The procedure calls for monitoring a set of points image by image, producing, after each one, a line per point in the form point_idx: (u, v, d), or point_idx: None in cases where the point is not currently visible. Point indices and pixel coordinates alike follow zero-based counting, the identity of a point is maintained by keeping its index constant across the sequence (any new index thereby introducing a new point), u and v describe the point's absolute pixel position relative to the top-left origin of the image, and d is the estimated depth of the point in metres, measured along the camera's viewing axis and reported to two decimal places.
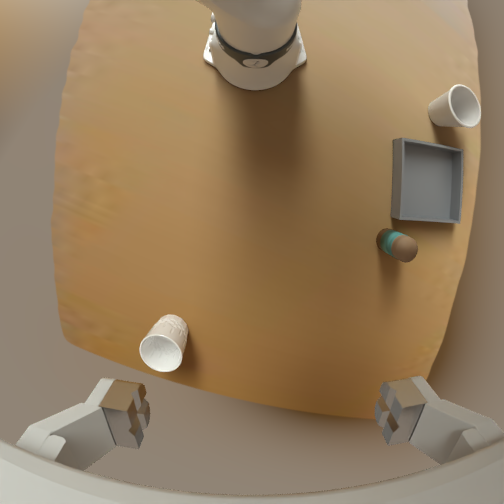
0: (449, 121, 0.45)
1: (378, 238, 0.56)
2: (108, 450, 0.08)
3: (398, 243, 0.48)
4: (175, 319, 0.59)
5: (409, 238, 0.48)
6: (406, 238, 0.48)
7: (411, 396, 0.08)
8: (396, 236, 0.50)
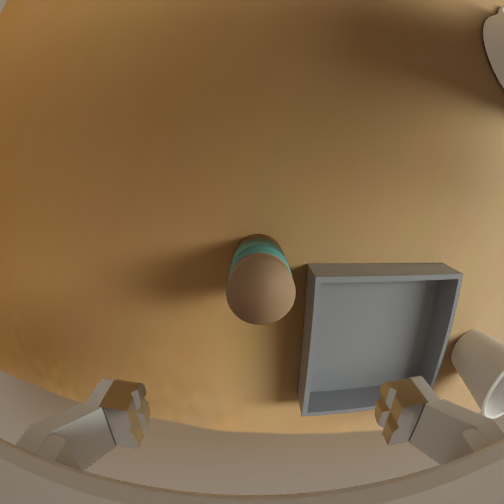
0: (483, 365, 0.24)
1: (262, 236, 0.27)
2: (108, 450, 0.08)
3: (279, 265, 0.19)
4: None
5: (291, 297, 0.20)
6: (292, 288, 0.20)
7: (411, 396, 0.08)
8: (287, 264, 0.22)
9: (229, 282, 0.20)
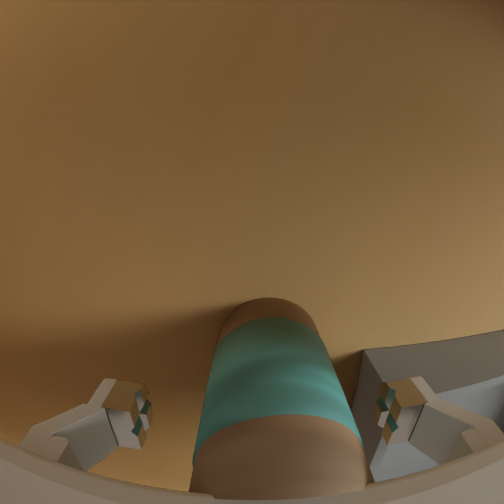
0: None
1: (279, 307, 0.12)
2: (110, 451, 0.08)
3: (351, 487, 0.04)
4: None
5: None
6: None
7: (410, 396, 0.08)
8: (356, 428, 0.07)
9: None
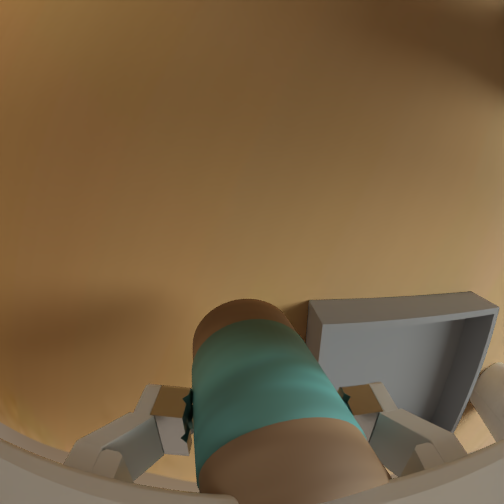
0: None
1: (255, 307, 0.12)
2: (156, 459, 0.08)
3: (375, 482, 0.04)
4: None
5: None
6: None
7: (366, 403, 0.08)
8: (357, 424, 0.07)
9: None
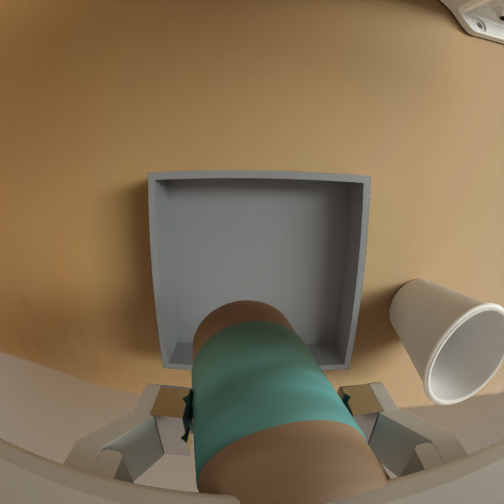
0: (425, 319, 0.20)
1: (255, 309, 0.12)
2: (156, 459, 0.08)
3: (375, 485, 0.04)
4: None
5: None
6: None
7: (365, 403, 0.08)
8: (358, 426, 0.07)
9: None
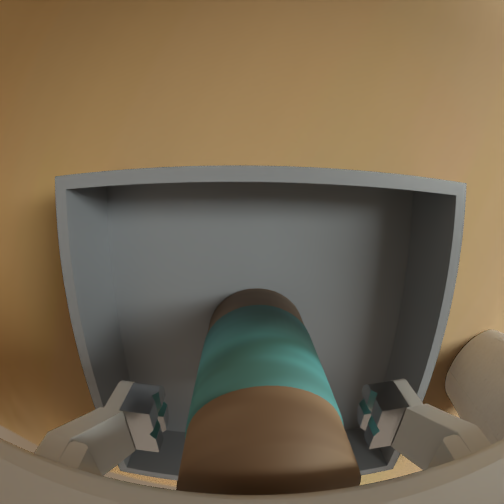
0: None
1: (264, 296, 0.13)
2: (127, 454, 0.08)
3: (326, 449, 0.05)
4: None
5: None
6: (352, 481, 0.06)
7: (392, 400, 0.08)
8: (333, 402, 0.07)
9: (181, 481, 0.05)
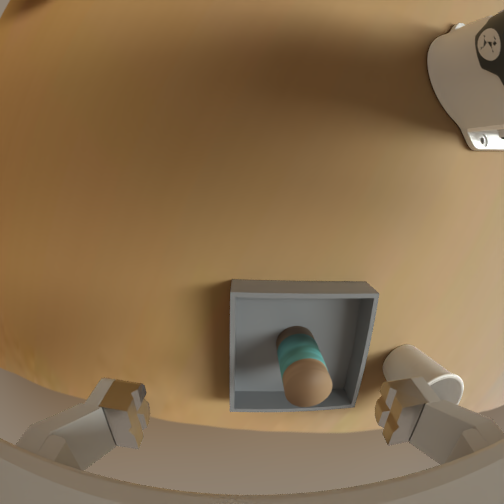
0: None
1: (300, 329, 0.33)
2: (108, 450, 0.08)
3: (323, 372, 0.26)
4: None
5: (329, 390, 0.26)
6: (330, 384, 0.26)
7: (411, 396, 0.08)
8: (325, 364, 0.28)
9: (287, 384, 0.26)
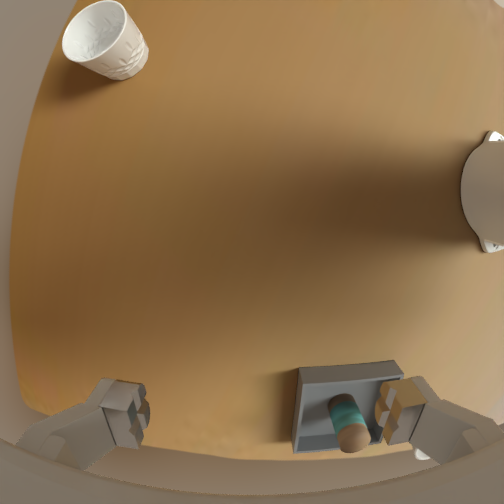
0: None
1: (346, 396, 0.42)
2: (108, 450, 0.08)
3: (365, 433, 0.34)
4: (141, 58, 0.31)
5: (368, 442, 0.35)
6: (369, 439, 0.34)
7: (411, 396, 0.08)
8: (365, 424, 0.36)
9: (342, 441, 0.34)
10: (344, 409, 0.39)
